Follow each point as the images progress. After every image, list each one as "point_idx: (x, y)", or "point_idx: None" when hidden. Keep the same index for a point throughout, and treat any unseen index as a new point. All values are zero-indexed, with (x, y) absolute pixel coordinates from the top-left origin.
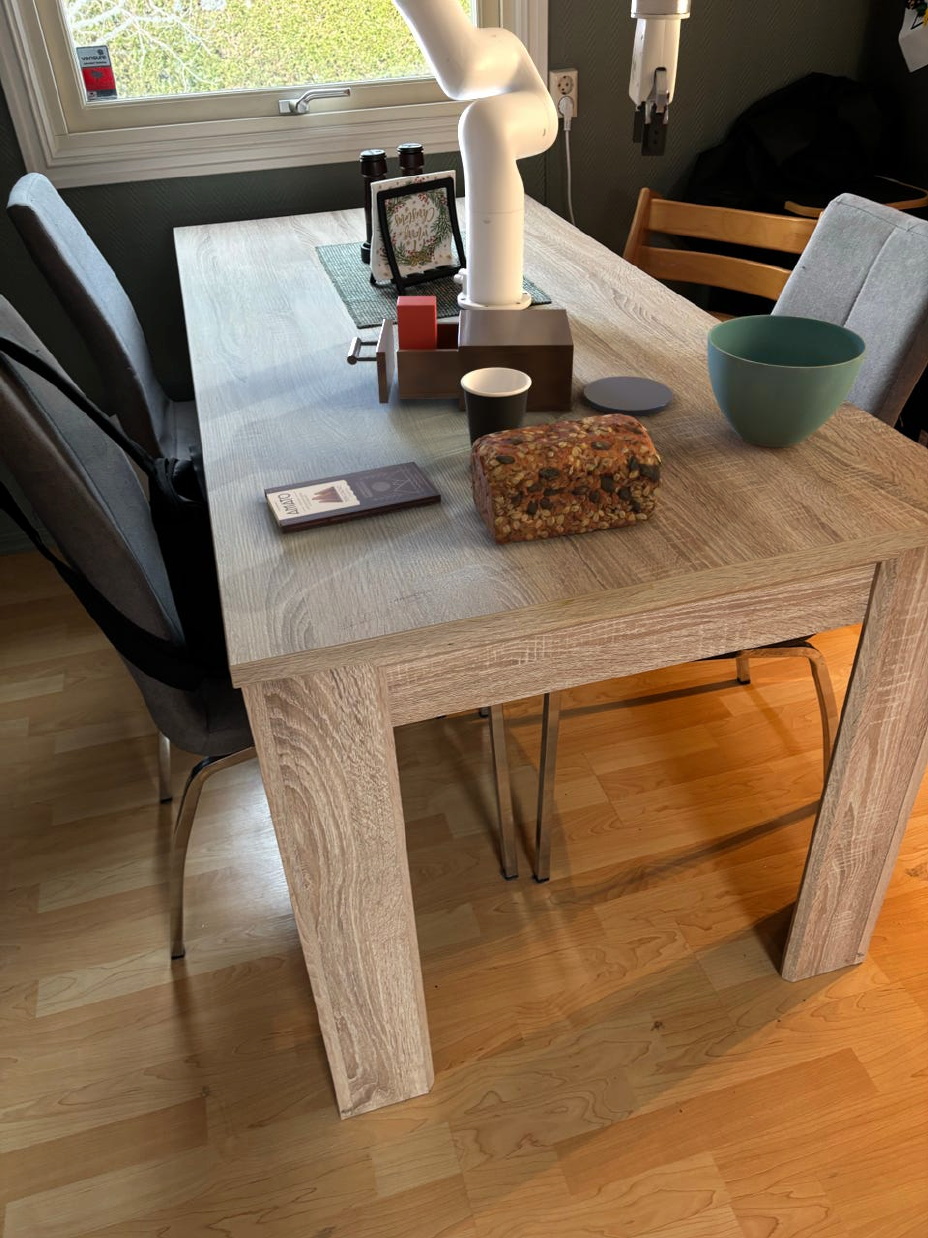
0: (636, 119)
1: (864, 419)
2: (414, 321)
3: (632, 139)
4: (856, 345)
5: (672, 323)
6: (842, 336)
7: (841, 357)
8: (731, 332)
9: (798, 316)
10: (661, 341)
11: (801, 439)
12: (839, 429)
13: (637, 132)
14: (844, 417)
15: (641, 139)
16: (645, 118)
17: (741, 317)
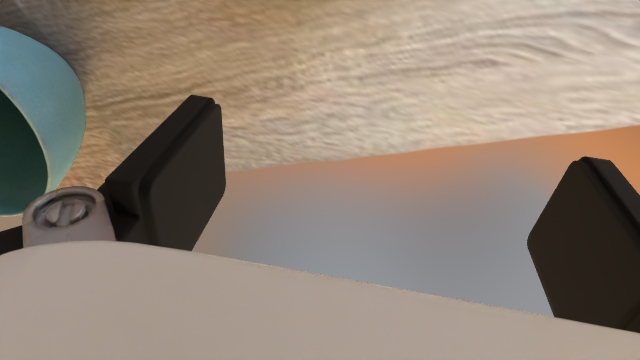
0: (630, 245)
1: None
2: None
3: (596, 159)
4: (2, 206)
5: (452, 87)
6: (26, 205)
7: (34, 190)
8: (20, 85)
9: (48, 183)
10: (368, 43)
11: (7, 101)
12: (80, 152)
13: (583, 201)
14: (112, 169)
15: (555, 198)
16: (597, 292)
17: (19, 109)
